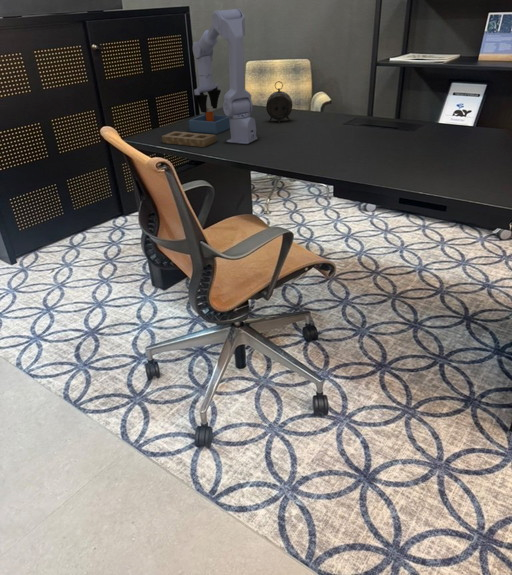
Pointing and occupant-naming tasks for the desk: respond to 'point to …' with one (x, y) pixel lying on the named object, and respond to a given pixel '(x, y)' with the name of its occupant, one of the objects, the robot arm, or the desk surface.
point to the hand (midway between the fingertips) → (209, 110)
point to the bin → (209, 124)
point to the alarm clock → (279, 105)
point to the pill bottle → (209, 114)
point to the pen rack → (189, 139)
